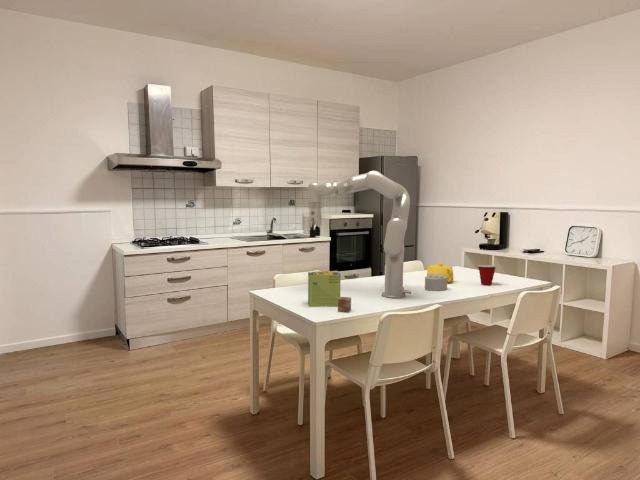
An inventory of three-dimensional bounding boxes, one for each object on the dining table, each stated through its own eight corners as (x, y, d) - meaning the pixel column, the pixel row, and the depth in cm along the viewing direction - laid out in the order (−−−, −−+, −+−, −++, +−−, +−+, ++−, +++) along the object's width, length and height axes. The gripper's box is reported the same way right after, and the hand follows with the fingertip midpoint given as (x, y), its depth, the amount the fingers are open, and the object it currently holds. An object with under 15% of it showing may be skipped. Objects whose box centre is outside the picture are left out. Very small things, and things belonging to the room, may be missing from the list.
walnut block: (350, 310, 205) (351, 297, 204) (348, 312, 200) (348, 299, 200) (340, 309, 207) (340, 296, 206) (337, 311, 202) (337, 299, 201)
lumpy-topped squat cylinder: (449, 289, 253) (449, 274, 252) (434, 292, 245) (435, 277, 244) (434, 286, 261) (435, 272, 260) (420, 289, 253) (420, 274, 252)
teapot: (419, 279, 282) (420, 261, 281) (433, 278, 289) (433, 260, 288) (444, 285, 266) (445, 265, 265) (458, 283, 273) (458, 264, 271)
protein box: (340, 306, 212) (341, 274, 211) (308, 306, 211) (308, 274, 210) (338, 301, 223) (338, 270, 221) (307, 301, 221) (307, 271, 220)
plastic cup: (491, 282, 274) (492, 263, 272) (498, 286, 263) (499, 266, 262) (473, 282, 273) (474, 263, 272) (480, 286, 263) (481, 266, 261)
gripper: (317, 206, 233) (317, 238, 235) (325, 205, 250) (325, 235, 251) (304, 205, 235) (304, 237, 236) (312, 205, 251) (312, 235, 253)
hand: (315, 236), depth 244 cm, fingers open, 9 cm apart
